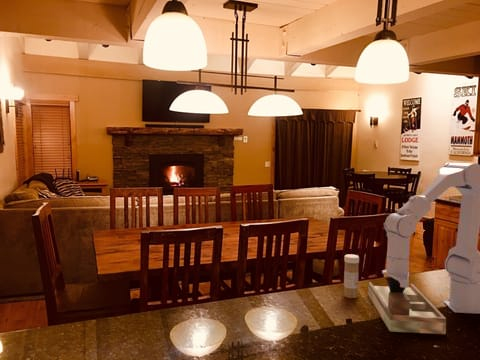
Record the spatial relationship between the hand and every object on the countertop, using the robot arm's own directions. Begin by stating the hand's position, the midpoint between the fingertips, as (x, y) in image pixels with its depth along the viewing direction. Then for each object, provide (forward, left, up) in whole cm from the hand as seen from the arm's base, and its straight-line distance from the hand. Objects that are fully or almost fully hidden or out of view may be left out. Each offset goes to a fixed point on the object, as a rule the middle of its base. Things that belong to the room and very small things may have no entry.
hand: (395, 303), depth 111 cm
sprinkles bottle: (+10, -15, -4) cm, 19 cm away
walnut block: (0, +3, -1) cm, 3 cm away
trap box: (-3, -4, -4) cm, 7 cm away
